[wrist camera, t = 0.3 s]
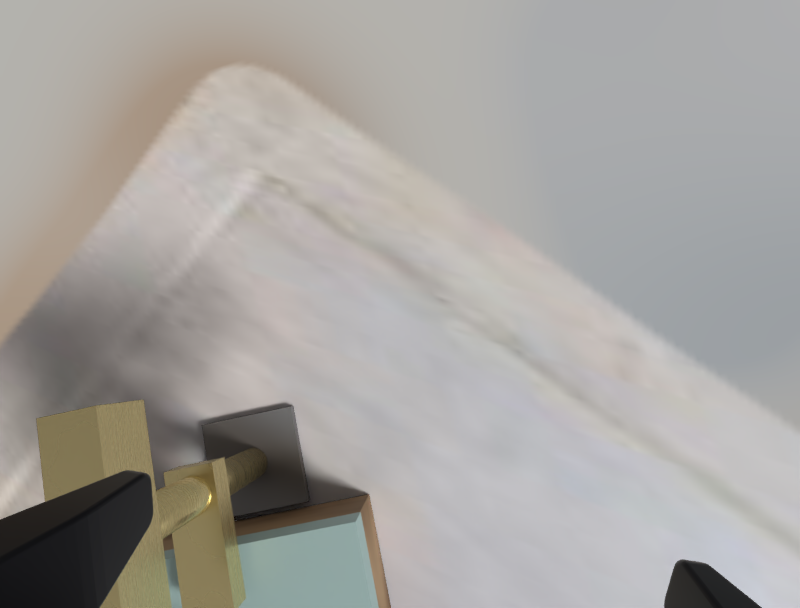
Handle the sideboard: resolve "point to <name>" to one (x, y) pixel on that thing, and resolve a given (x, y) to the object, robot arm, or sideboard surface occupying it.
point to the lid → (301, 566)
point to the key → (156, 504)
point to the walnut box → (282, 482)
